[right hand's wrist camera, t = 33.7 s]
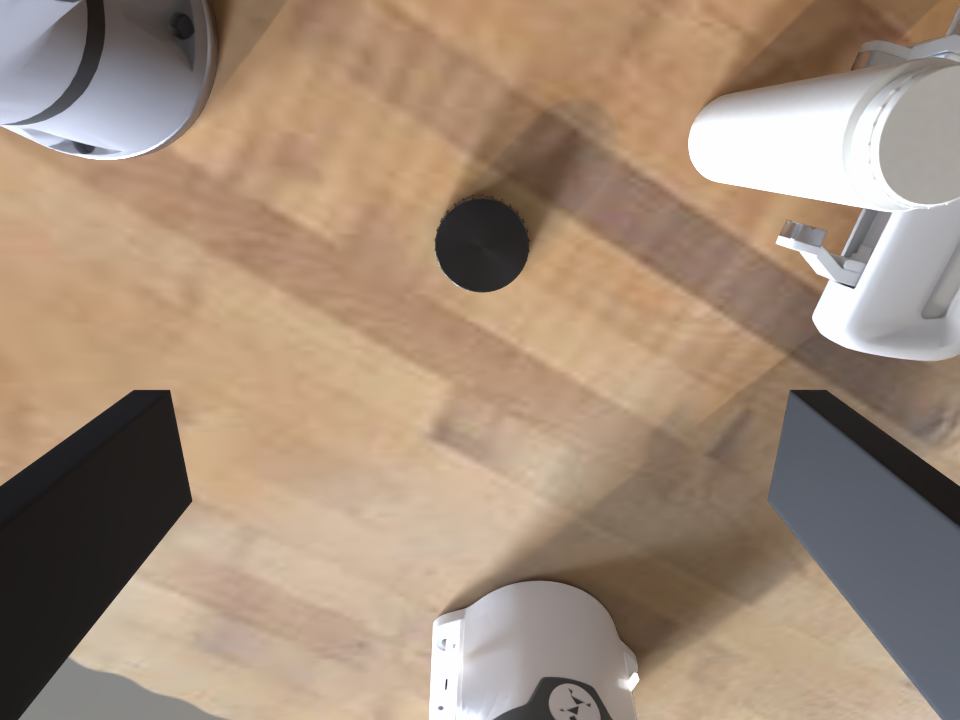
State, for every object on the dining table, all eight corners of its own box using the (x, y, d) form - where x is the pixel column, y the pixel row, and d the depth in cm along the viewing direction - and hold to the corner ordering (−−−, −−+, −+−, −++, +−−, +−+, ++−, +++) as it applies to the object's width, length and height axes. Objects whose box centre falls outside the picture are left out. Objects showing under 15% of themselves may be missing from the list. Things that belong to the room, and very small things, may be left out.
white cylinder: (705, 197, 39) (887, 243, 22) (675, 120, 38) (846, 103, 20) (784, 156, 38) (1040, 171, 21) (756, 75, 37) (1011, 16, 19)
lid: (538, 272, 41) (541, 277, 39) (452, 298, 42) (451, 305, 40) (513, 182, 39) (515, 184, 37) (423, 211, 40) (420, 214, 38)
